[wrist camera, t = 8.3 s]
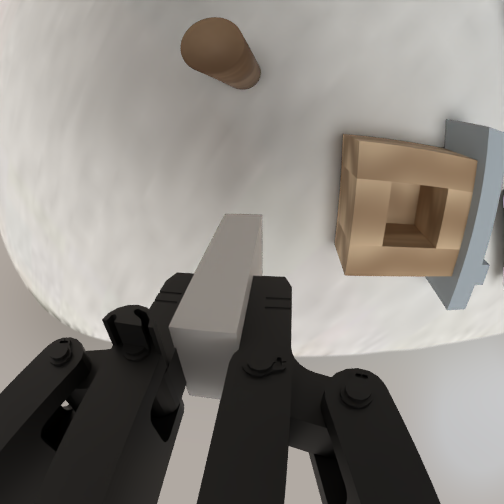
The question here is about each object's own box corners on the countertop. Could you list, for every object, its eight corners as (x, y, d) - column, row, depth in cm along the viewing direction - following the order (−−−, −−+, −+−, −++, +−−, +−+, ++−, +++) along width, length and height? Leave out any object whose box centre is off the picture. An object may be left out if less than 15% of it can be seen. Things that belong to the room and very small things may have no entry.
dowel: (224, 58, 18) (180, 22, 9) (260, 56, 18) (242, 14, 9) (225, 90, 19) (180, 75, 10) (261, 89, 19) (243, 70, 10)
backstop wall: (446, 119, 18) (489, 127, 12) (488, 131, 17) (531, 143, 12) (421, 271, 24) (447, 310, 19) (460, 271, 24) (488, 306, 18)
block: (342, 134, 20) (359, 140, 15) (444, 148, 19) (477, 160, 14) (334, 244, 24) (344, 275, 19) (427, 247, 23) (451, 276, 18)
